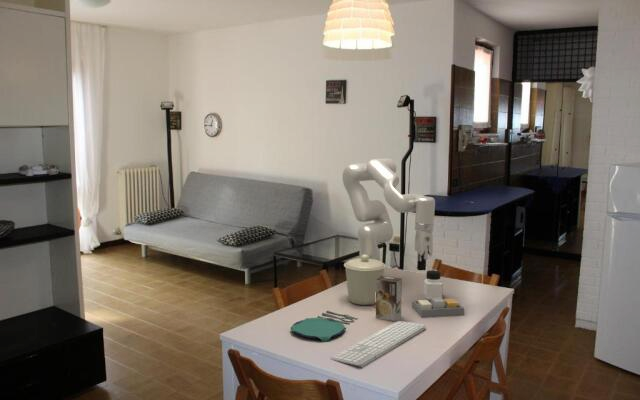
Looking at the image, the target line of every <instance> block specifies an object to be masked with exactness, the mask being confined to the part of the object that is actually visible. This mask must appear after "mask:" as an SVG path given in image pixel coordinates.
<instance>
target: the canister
mask: <svg viewBox="0 0 640 400" xmlns="http://www.w3.org/2000/svg"><path fill="white" fill-rule="evenodd" d="M343 267H344V268H345V278H346V286H347V294H348V298H349V300H350V302H351V303H353V304H355V305H359V306H369V305H374V304H375V305H376V303H375V292H376V279H378V278H379V277H380V276H384V272H385V268H386V267H387V265H386V264H385V263H384V262H382V261H381V260H380V261H379V260H376V259H369V256H368V255H366V254H363V255H362V256H361V258H360V257H358V258H352V259H350V260H348V261H347V262H345V263H344V264H343Z"/></svg>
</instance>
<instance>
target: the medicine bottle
mask: <svg viewBox="0 0 640 400" xmlns="http://www.w3.org/2000/svg"><path fill="white" fill-rule="evenodd" d="M443 284H444V283H442V281H441V272H440V271H439V270H437V269H429V270H427V271H426V279H423V295H424V298H425V300H431V297H440V298H442V299H443V290H444V289H443V286H444V285H443Z"/></svg>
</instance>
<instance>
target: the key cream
mask: <svg viewBox="0 0 640 400" xmlns="http://www.w3.org/2000/svg"><path fill="white" fill-rule="evenodd" d="M428 300H429V299H418V300H417V301H418V305H419V306H420V307H421V308H422V309H432V304H431V303H430V302H429V301H428Z"/></svg>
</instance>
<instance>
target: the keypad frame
mask: <svg viewBox="0 0 640 400" xmlns="http://www.w3.org/2000/svg"><path fill="white" fill-rule="evenodd" d="M427 300H428V301H429V302H430V303H431V299H427ZM411 308H412V310H413V311H414V312H415V313H416V314H417V315H418V316H419V317H420V318H435V317H455V316H456V317H457V316H464V315H465V307H464V306H462V305H461V304H460V303H458V305H457V308H449V307H447V306H446V305H445V308H439V309H436V308H435V307H434V306H433V305H432V309H422V308H421V307H420V306H419V305H418V300H412V301H411Z"/></svg>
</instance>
